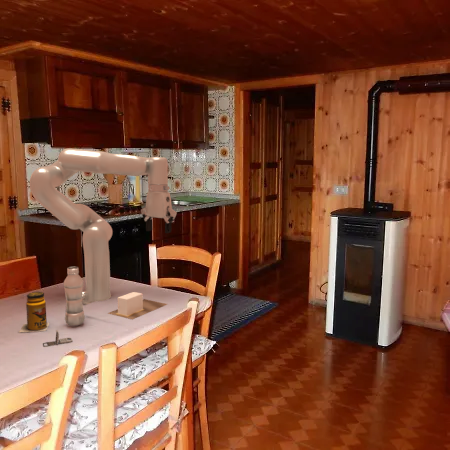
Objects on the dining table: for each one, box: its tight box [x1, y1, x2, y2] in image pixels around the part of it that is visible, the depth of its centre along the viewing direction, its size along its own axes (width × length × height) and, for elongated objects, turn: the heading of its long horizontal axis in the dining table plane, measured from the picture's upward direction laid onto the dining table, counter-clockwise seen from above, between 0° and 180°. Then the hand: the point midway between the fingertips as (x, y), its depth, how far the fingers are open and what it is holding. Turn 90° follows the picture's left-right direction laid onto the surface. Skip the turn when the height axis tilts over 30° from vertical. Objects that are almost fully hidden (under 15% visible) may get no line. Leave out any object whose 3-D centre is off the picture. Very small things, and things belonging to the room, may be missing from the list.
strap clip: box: [42, 329, 73, 348], centre depth 135 cm, size 8×3×4 cm, turn 117°
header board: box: [107, 298, 168, 321], centre depth 164 cm, size 20×12×4 cm, turn 149°
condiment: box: [18, 291, 50, 333], centre depth 147 cm, size 7×8×12 cm
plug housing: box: [117, 291, 144, 316], centre depth 159 cm, size 8×4×6 cm, turn 149°
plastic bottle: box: [63, 266, 86, 327], centre depth 150 cm, size 6×7×20 cm
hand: (158, 231), depth 175 cm, fingers open, 9 cm apart
